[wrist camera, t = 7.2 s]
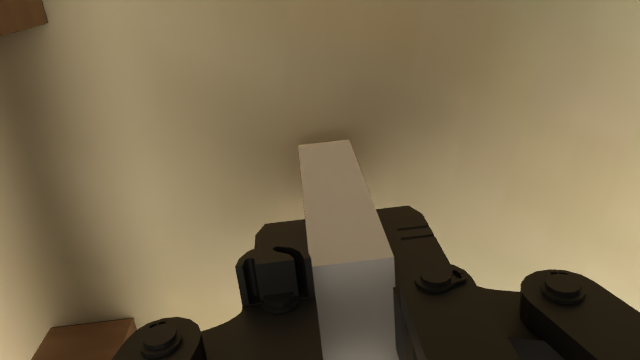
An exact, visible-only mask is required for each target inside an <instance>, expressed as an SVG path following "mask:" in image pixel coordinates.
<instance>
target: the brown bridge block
mask: <svg viewBox="0 0 640 360" xmlns="http://www.w3.org/2000/svg"><path fill="white" fill-rule="evenodd" d="M45 23H48V22H47V18H46V15H45V11H44V8H43V4H42V1H41V0H0V36H2V35H5V34H9V33H13V32H16V31H20V30H23V29H27V28H31V27H34V26H38V25H41V24H45ZM135 331H136V327H135V323H134V320H133V318H131V319H123V320H114V321H106V322H98V323H90V324H81V325H73V326H65V327H57V328H50V330H49V332H48V333H47V335H46V336H45V338H44V340H43V341H42V343H41V345H40V346H39V348H38V349H37V351H36V353H35V354H34V356H33V357H32V359H31V360H111V359H112V358H113V357H114V355H115V354H116V353H117V351H118V350H119V349H120V347H121V346H122V344H123V343H124V342H125V341H126V340H127V339H128V338H129V337H130V336H131V335H132V334H133V333H134V332H135Z"/></svg>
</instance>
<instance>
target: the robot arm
mask: <svg viewBox="0 0 640 360" xmlns="http://www.w3.org/2000/svg"><path fill="white" fill-rule="evenodd" d="M298 150H299V160H300V171H301V181H302V191H303V201H304V212H305V219H303V220H294V221H286V222H277V223H269V224H265V225H264V226H263V227H262V228H261V229H260V231H259V232H258V233H257V234H256V236H255V249H253V250H250V251H248V252H247V253H246V254H244V255H243V256H242V257H241V258H240V259H239V260H238V262H237V264H236V266H235V268H236V273H237V279H238V284H239V289H240V295H241V300H242V312H241V313H240V314H239V315H237V316H236V317H234V318H233V319H231V320H230V321H228V322H226V323H224V324H221V325H219V326H216V327H213V328H210V329H208V330H205V331H202V332H201V331H200V328H199V326H198V325H197V324H196V323H195V322H193V321H192V320H190V319H186V318H180V317H173V318H163V319H160V320H157V321H154V322H151V323H148V324H146V325H145V326H143V327H141V328H139V329H138V330H136V331H135V332H134V333H133V334H132V335H131V336H130V337H129V338H128V339H127V340H126V341H125V342H124V343H123V344H122V346H121V347H120V349H119V350H118V351H117V353H116V354H115V355H114V357H113V358H112V359H111V360H640V312H638V311H637V310H635V309H634V308H632V307H631V306H629V305H628V304H626V303H625V302H624V301H622V300H621V299H619V298H618V297H616V296H615V295H613V294H612V293H610V292H609V291H607V290H606V289H604V288H603V287H602V286H600V285H599V284H597V283H596V282H594V281H592V280H590V279H588V278H586V277H584V276H582V275H580V274H576V273H573V272H569V271H565V270H543V271H536V272H534V273H532V274H530V275H528V276H526V277H525V279H524V280H523V281H522V283H521V291H520V292H513V291H501V290H492V289H486V288H482V287H479V286H477V285H476V284H475V282H474V280H473V279H472V277H471V276H470V275H469V274H468V273H467V272H466V271H465V270H463V269H461V268H459V267H457V266H455V265H451V264H450V263H449V261H448V259H447V257H446V255H445V254H444V252H443V250H442V248H441V247H440V245H439V243H438V241H437V239H436V238H435V237H434V234H433V232H432V230H431V229H430V227H429V225H428V223H427V221H426V220H425V218H424V216H423V214H421V213H420V212H418V211H417V210H415V209H413V208H412V207H410V206H401V207H393V208H384V209H375V206H374V203H373V201H372V198H371V195H370V193H369V190H368V188H367V185H366V182H365V180H364V177H363V175H362V172H361V169H360V167H359V164H358V161H357V159H356V156H355V154H354V151H353V148H352V146H351V143H350V141H349V139H348V140H339V141H330V142H321V143H312V144H303V145H298Z"/></svg>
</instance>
